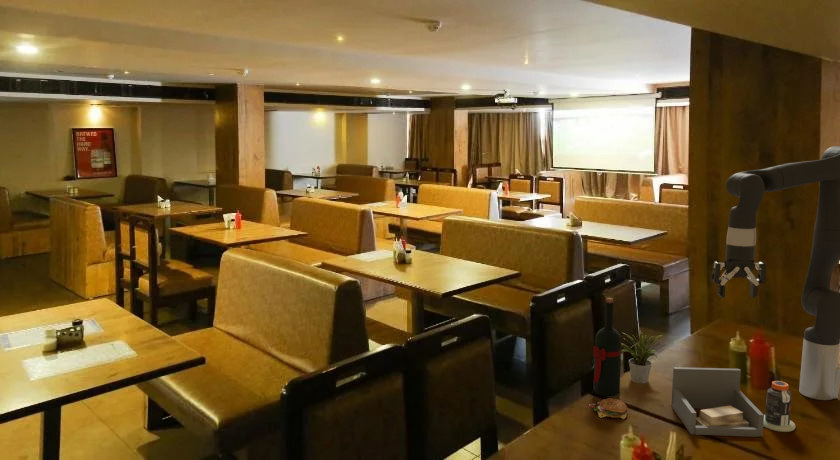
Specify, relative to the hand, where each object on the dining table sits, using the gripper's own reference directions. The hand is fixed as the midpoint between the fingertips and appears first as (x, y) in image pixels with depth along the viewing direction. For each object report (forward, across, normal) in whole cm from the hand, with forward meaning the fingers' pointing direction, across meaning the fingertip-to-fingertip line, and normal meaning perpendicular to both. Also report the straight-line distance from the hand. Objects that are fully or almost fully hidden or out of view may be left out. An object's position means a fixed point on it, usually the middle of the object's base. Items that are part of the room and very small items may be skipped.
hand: (736, 297), depth 181 cm
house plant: (+32, +22, -15) cm, 42 cm away
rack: (+32, +9, +13) cm, 36 cm away
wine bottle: (+32, +36, -4) cm, 49 cm away
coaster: (+32, -7, +15) cm, 36 cm away
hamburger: (+33, +38, +9) cm, 51 cm away
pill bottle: (+32, -7, +15) cm, 36 cm away
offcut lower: (+33, +9, +17) cm, 38 cm away
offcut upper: (+30, +9, +17) cm, 36 cm away
